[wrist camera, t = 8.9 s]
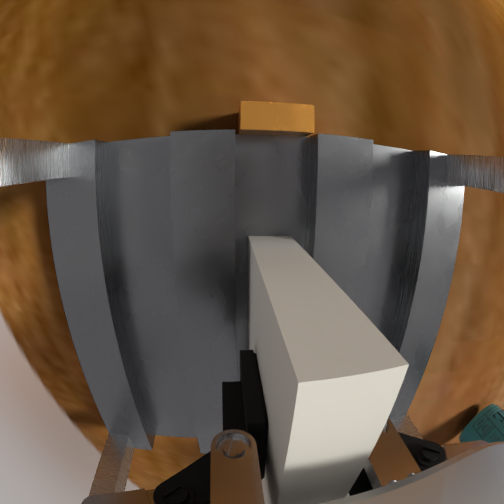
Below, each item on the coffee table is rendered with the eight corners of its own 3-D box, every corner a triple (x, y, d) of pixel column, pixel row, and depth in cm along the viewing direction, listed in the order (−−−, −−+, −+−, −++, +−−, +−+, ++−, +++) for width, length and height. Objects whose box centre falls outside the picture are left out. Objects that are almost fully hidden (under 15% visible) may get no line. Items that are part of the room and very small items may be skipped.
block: (248, 236, 14) (298, 382, 4) (290, 236, 14) (409, 364, 4) (247, 397, 16) (266, 545, 7) (279, 395, 16) (315, 538, 7)
